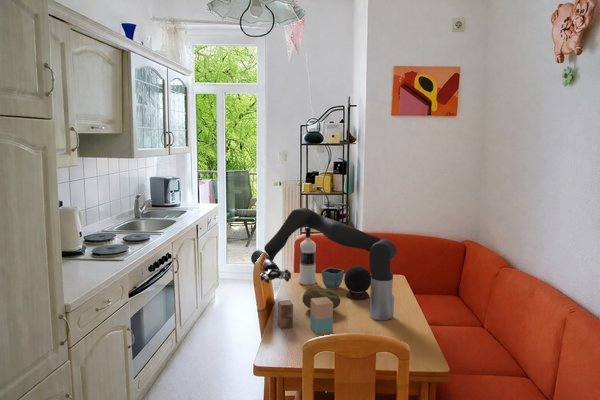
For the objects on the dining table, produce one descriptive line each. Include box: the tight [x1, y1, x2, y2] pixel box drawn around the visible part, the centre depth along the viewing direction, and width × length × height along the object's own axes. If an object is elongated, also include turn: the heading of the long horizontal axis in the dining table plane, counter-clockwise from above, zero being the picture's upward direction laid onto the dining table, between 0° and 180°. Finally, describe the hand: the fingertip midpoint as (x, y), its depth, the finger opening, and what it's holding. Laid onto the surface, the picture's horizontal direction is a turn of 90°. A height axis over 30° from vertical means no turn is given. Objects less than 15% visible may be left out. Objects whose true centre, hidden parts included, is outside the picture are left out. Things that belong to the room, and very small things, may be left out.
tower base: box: [309, 313, 334, 335], centre depth 178 cm, size 7×7×6 cm
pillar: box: [277, 299, 294, 330], centre depth 181 cm, size 5×5×10 cm
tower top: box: [310, 297, 334, 320], centre depth 177 cm, size 7×7×6 cm
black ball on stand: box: [343, 265, 371, 301], centre depth 216 cm, size 13×13×15 cm
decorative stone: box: [302, 285, 341, 310], centre depth 198 cm, size 17×11×10 cm, turn 79°
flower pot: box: [321, 267, 345, 290], centre depth 228 cm, size 9×9×9 cm
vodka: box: [298, 227, 317, 286], centre depth 234 cm, size 9×9×30 cm
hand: (278, 280), depth 190 cm, fingers open, 8 cm apart
